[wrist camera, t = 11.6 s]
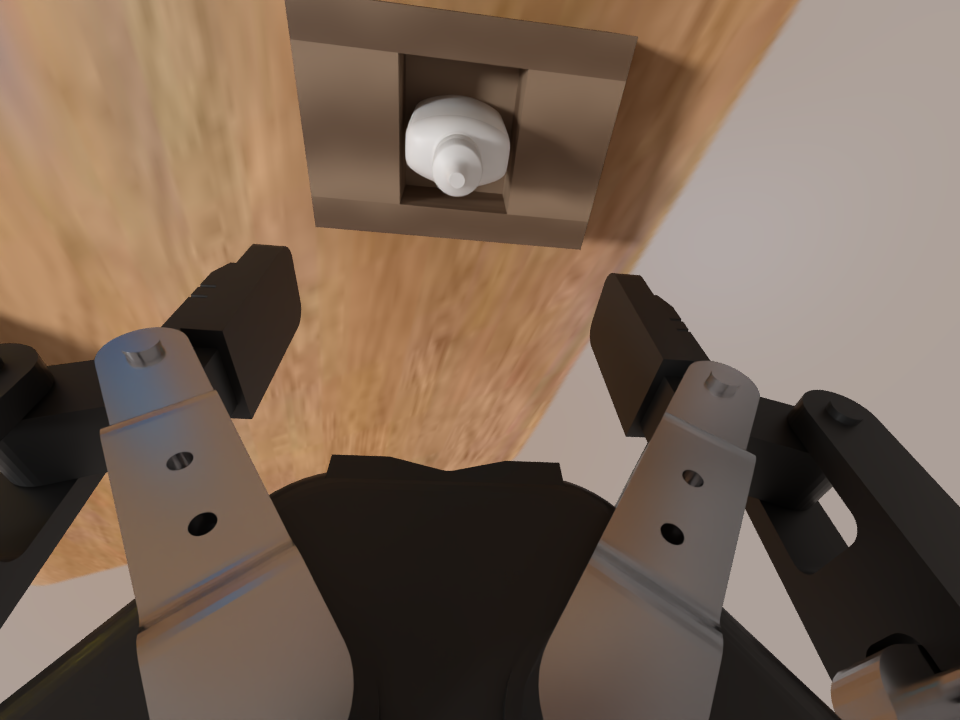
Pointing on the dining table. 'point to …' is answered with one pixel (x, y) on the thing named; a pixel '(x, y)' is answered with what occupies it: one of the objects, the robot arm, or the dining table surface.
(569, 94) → the walnut holder
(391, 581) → the robot arm
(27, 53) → the dining table surface
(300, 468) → the dining table surface
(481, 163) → the eye dropper bottle
